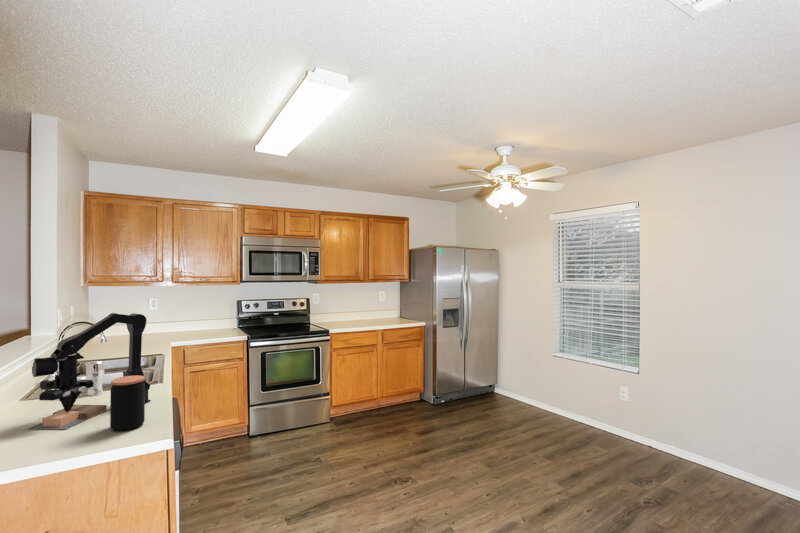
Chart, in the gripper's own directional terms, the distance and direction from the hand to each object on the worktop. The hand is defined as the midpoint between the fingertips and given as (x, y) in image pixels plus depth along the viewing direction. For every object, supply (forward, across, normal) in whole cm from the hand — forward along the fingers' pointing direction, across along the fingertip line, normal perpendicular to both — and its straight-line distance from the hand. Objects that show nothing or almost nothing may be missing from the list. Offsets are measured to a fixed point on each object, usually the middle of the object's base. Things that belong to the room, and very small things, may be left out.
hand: (67, 411), depth 158 cm
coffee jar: (+4, +5, +28) cm, 29 cm away
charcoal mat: (+4, +4, 0) cm, 5 cm away
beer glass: (+4, -33, -16) cm, 37 cm away
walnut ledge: (+4, -6, 0) cm, 7 cm away
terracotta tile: (+3, +3, 0) cm, 5 cm away
